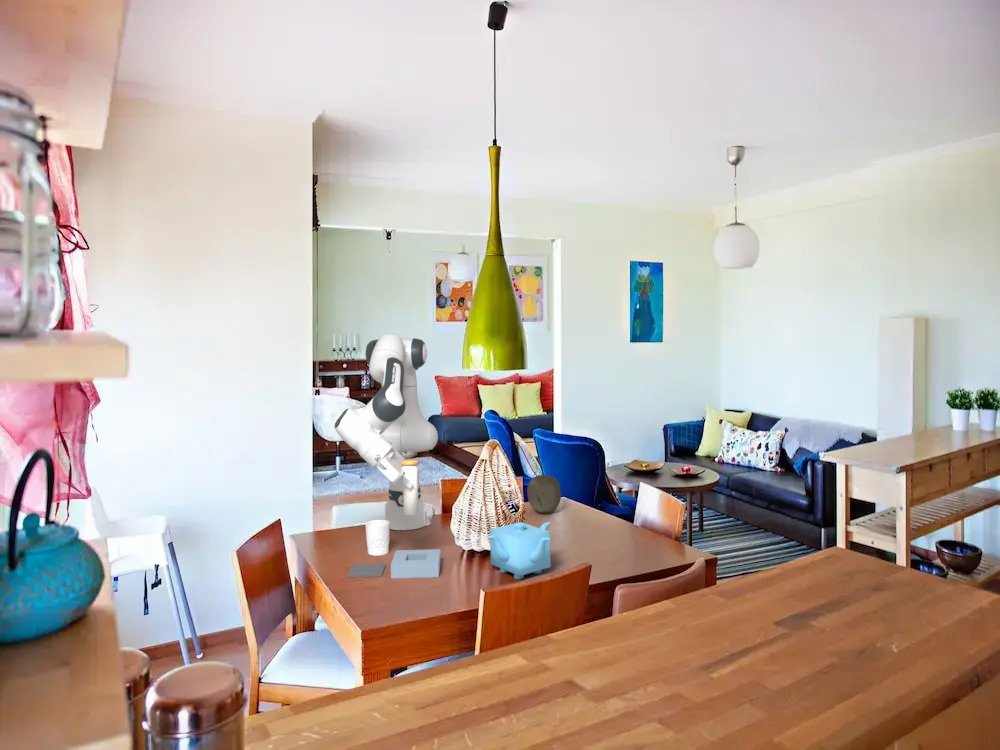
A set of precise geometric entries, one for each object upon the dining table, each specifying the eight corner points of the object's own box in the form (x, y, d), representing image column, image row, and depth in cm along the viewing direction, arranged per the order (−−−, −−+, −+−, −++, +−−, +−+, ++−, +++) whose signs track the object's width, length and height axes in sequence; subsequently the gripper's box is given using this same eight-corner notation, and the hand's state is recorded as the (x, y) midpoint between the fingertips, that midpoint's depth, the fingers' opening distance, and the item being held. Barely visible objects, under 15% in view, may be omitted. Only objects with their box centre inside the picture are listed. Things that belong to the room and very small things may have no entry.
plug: (403, 511, 213) (402, 459, 212) (419, 511, 213) (418, 458, 212) (402, 515, 208) (400, 461, 207) (418, 515, 208) (417, 461, 207)
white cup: (393, 549, 232) (392, 519, 232) (386, 556, 224) (386, 526, 224) (370, 548, 233) (369, 519, 233) (363, 556, 225) (362, 525, 225)
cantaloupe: (569, 513, 275) (568, 476, 274) (539, 519, 268) (538, 480, 267) (549, 506, 287) (548, 470, 286) (520, 511, 280) (519, 474, 279)
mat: (353, 566, 215) (353, 564, 215) (385, 565, 216) (385, 563, 216) (347, 577, 206) (347, 575, 205) (381, 576, 206) (381, 574, 206)
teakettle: (494, 561, 219) (493, 515, 218) (553, 562, 216) (553, 515, 216) (486, 582, 200) (485, 532, 199) (551, 583, 198) (550, 533, 197)
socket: (396, 562, 218) (395, 550, 218) (440, 561, 219) (440, 549, 218) (391, 578, 204) (390, 565, 204) (438, 577, 205) (438, 563, 204)
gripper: (382, 451, 198) (417, 483, 200) (389, 440, 219) (421, 470, 220) (366, 466, 199) (402, 499, 200) (376, 454, 219) (407, 484, 220)
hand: (412, 484), depth 210 cm, fingers closed on plug, 4 cm apart
